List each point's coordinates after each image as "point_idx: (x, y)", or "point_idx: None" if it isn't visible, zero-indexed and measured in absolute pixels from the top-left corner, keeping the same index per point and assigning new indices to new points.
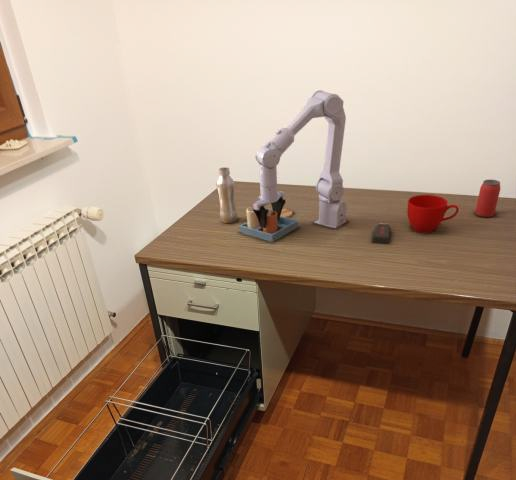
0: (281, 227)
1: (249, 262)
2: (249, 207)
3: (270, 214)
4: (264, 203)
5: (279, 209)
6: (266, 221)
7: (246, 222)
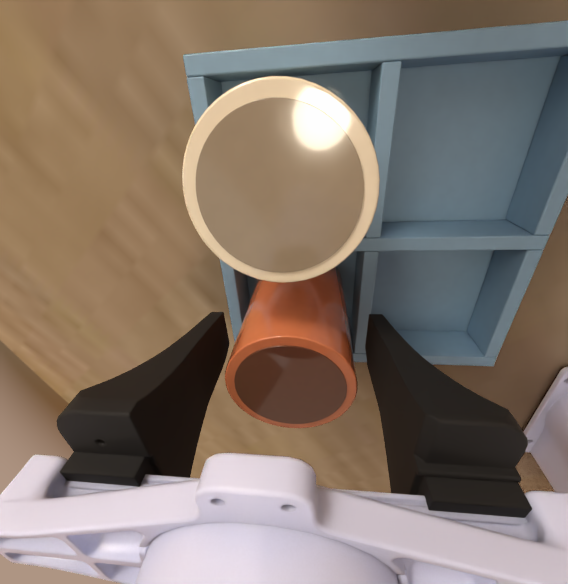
0: (355, 340)
1: (66, 353)
2: (297, 82)
3: (274, 402)
4: (119, 568)
5: (384, 429)
6: (215, 383)
7: (281, 59)
